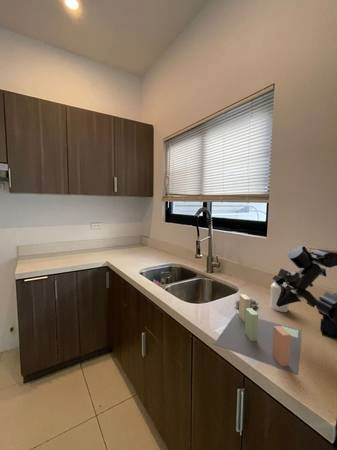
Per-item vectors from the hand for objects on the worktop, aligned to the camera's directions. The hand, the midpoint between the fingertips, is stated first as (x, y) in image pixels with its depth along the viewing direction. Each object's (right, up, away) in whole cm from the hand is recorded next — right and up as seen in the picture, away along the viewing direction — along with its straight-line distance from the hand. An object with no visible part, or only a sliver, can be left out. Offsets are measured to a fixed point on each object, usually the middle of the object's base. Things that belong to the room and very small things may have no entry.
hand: (277, 305), depth 83 cm
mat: (-7, -12, 0) cm, 14 cm away
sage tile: (-10, -12, 0) cm, 16 cm away
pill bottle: (+13, -11, +24) cm, 30 cm away
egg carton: (-3, -11, +25) cm, 27 cm away
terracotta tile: (-5, -13, -13) cm, 19 cm away
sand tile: (-8, -11, +13) cm, 19 cm away
